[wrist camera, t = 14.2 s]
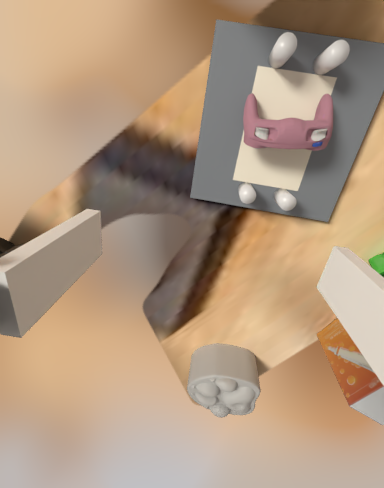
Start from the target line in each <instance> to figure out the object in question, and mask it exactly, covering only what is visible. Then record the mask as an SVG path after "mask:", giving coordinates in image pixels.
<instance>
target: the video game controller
mask: <svg viewBox="0 0 384 488" xmlns="http://www.w3.org/2000/svg"><path fill="white" fill-rule="evenodd" d="M243 124H244V143H245V144H246V145H248V146H250V147H253V148H255V149H260V148H267V147H270V148H277V149H307V150H313V151H318V150H322V149H324V148H326V146H327V144H328V142H329V140H330V138H331V136H332V129H333V99H332V97H331V95H330V94H324V95H323V96H322V98H321V99H320V102H319V104H318V106H317V109H316V113H315V117H314V120H302V119H298V118H285V119H281V120H270V119H260V118H259V115H258V109H257V99H256V97H255V95H254V94H253V93H251V94H249V95H248V97H247V99H246V103H245V107H244V116H243Z"/></svg>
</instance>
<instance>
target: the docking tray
mask: <svg viewBox="0 0 384 488" xmlns="http://www.w3.org/2000/svg"><path fill="white" fill-rule="evenodd" d="M383 91H384V43H377V42H370V41H363V40H356V39H349V38H342V37H335V36H328V35H321V34H314V33H307V32H300V31H293V30H286V29H279V28H272V27H265V26H258V25H251V24H244V23H237V22H229V21H222V20H216V27H215V33H214V40H213V47H212V53H211V60H210V67H209V74H208V80H207V87H206V94H205V101H204V108H203V114H202V121H201V128H200V135H199V142H198V148H197V155H196V162H195V169H194V175H193V182H192V189H191V196H190V198H196V199H201V200H207V201H213V202H218V203H224V204H230V205H235V206H241V207H246V208H252V209H258V210H263V211H269V212H274V213H280V214H286V215H291V216H297V217H303V218H308V219H314V220H319V221H325V222H328V221H329V218H330V216H331V214H332V211H333V209H334V207H335V204H336V202H337V200H338V197H339V195H340V192H341V190H342V188H343V185H344V183H345V181H346V178H347V176H348V174H349V171H350V169H351V167H352V164H353V162H354V160H355V157H356V155H357V152H358V150H359V148H360V145H361V143H362V141H363V138H364V136H365V134H366V131H367V129H368V127H369V124H370V122H371V120H372V117H373V115H374V113H375V110H376V108H377V105H378V103H379V101H380V98H381V96H382V94H383ZM251 93H253V94H254V95H255V97H256V99H257V109H258V115H259V118H260V119H270V120H281V119H285V118H298V119H302V120H314V117H315V113H316V109H317V106H318V104H319V102H320V99H321V98H322V96H323V95H324V94H330V95H331V97H332V99H333V129H332V136H331V138H330V140H329V142H328V144H327V146H326V148H324V149H322V150H318V151H313V150H307V149H277V148H270V147H267V148H260V149H255V148H253V147H250V146H248V145H246V144H245V143H244V124H243V116H244V107H245V103H246V99H247V97H248V95H249V94H251Z"/></svg>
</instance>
